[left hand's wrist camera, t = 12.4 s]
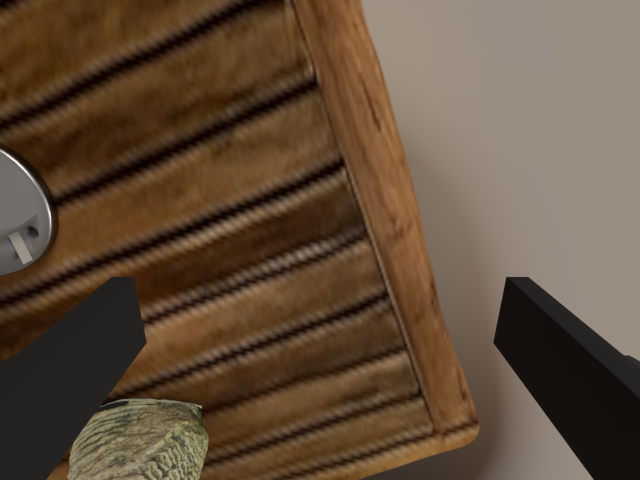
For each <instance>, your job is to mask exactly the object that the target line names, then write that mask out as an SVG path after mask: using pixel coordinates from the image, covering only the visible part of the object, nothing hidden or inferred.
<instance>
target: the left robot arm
mask: <svg viewBox="0 0 640 480" xmlns="http://www.w3.org/2000/svg"><path fill="white" fill-rule="evenodd" d="M57 229H58V215H57V209H56V205H55V202H54V199H53V196H52V194H51V192H50V190H49V188H48V186H47V185H46V183H45V181H44V180H43V179H42V177H41V176H40V175H39V173H38V172H37V171H36V170H35V169H34V168H33V166H32V165H31V164H30V163H28V162H27V161H26V160H25V159H24V158H23V157H21V156H20V155H19V154H18V153H16V152H15V151H13V150H12V149H10V148H8V147H6V146H5V145H3V144H1V143H0V275H4V274H9V273H12V272H15V271H18V270H21V269H23V268H25V267H27V266H29V265H31V264H33V263H35V262H36V261H38V260H39V259H41V258H42V257H43V256H44V255H45V254H46V253H47V252H48V251H49V250H50V248H51V246H52V245H53V243H54V240H55V238H56V234H57ZM146 343H147V342H146V337H145V332H144V327H143V322H142V317H141V312H140V307H139V302H138V297H137V292H136V287H135V282H134V277H111V278H110V279H109V280H108V281H106V282H105V283H104V284H103V285H101V286H100V287H99V288H98V289H97V290H95V291H94V292H93V293H92V294H90V295H89V296H88V297H87V298H86V299H84V300H83V301H82V302H81V303H80V304H78V305H77V306H76V307H75V308H73V309H72V310H71V311H70V312H69V313H67V314H66V315H65V316H64V317H62V318H61V319H60V320H59V321H58V322H56V323H55V324H54V325H53V326H51V327H50V328H49V329H48V330H47V331H45V332H44V333H43V334H42V335H41V336H39V337H38V338H37V339H36V340H34V341H33V342H32V343H31V344H30V345H28V346H27V347H26V348H25V349H23V350H22V351H21V352H20V353H19V354H17V355H16V356H15V357H10V358H8V359H6V360H4V361H3V362H1V363H0V480H46V479H47V478H48V477H49V475H50V474H51V472H52V471H53V470H54V468H55V467H56V466H57V464H58V463H59V462H60V460H61V459H62V457H63V456H64V455H65V453H66V452H67V451H68V449H69V448H70V447H71V445H72V444H73V442H74V441H75V440H76V438H77V437H78V436H79V434H80V433H81V432H82V430H83V429H84V427H85V426H86V425H87V423H88V422H89V421H90V419H91V418H92V417H93V415H94V414H95V412H96V411H97V410H98V408H99V407H100V406H101V404H102V403H103V402H104V400H105V399H106V397H107V396H108V395H109V393H110V392H111V391H112V389H113V388H114V387H115V385H116V384H117V382H118V381H119V380H120V378H121V377H122V376H123V374H124V373H125V372H126V370H127V369H128V367H129V366H130V365H131V363H132V362H133V361H134V359H135V358H136V357H137V355H138V354H139V352H140V351H141V350H142V348H143V347H144V346H145V344H146ZM493 343H494V344H495V346H496V347H497V348H498V350H499V351H500V352H501V354H502V355H503V357H504V358H505V359H506V361H507V362H508V363H509V365H510V366H511V367H512V369H513V370H514V372H515V373H516V374H517V376H518V377H519V378H520V380H521V381H522V382H523V384H524V385H525V387H526V388H527V389H528V391H529V392H530V393H531V395H532V396H533V397H534V399H535V400H536V402H537V403H538V404H539V406H540V407H541V408H542V410H543V411H544V412H545V414H546V415H547V417H548V418H549V419H550V421H551V422H552V423H553V425H554V426H555V427H556V429H557V430H558V432H559V433H560V434H561V436H562V437H563V438H564V440H565V441H566V442H567V444H568V445H569V447H570V448H571V449H572V451H573V452H574V453H575V455H576V456H577V457H578V459H579V460H580V462H581V463H582V464H583V466H584V467H585V468H586V470H587V471H588V472H589V474H590V475H591V476H592V478H593V479H594V480H640V361H638V360H636V359H635V358H633V357H631V356H624V355H623V354H621V353H620V352H619V351H618V350H617V349H615V348H614V347H613V346H612V345H610V344H609V343H608V342H607V341H606V340H604V339H603V338H602V337H601V336H599V335H598V334H597V333H596V332H595V331H593V330H592V329H591V328H590V327H589V326H587V325H586V324H585V323H584V322H582V321H581V320H580V319H579V318H578V317H576V316H575V315H574V314H573V313H571V312H570V311H569V310H568V309H567V308H565V307H564V306H563V305H562V304H560V303H559V302H558V301H557V300H556V299H554V298H553V297H552V296H551V295H550V294H548V293H547V292H546V291H545V290H543V289H542V288H541V287H540V286H539V285H537V284H536V283H535V282H534V281H532V280H531V279H530V278H529V277H506V282H505V287H504V292H503V297H502V302H501V307H500V312H499V317H498V322H497V327H496V332H495V337H494V342H493Z"/></svg>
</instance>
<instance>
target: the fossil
mask: <svg viewBox="0 0 640 480" xmlns="http://www.w3.org/2000/svg"><path fill="white" fill-rule="evenodd" d="M201 408H202V406H199V405H197V404H193V403H185V402H180V401H172V400H164V399H163V400H155V399H123V400H118V401H115V402H112V403H108V404H106V405H104V406H100V407H99V408H98V410H97V411H96V412H95V414H94V415H93V417H92V418H91V419H90V421H89V422H88V423H87V425H86V426H85V427H84V429H83V430H82V432H81V433H80V434H79V436H78V437H77V438H76V440H75V441H74V443H73V448H72V451H71V453H70V454H71V456H70V459H69V462H70V469H69V474H68V476H67V478H68V479H69V480H198V479H199V475H200V473H201V470H202V467H203V464H204V460H205V456H206V453H207V448H208V442H209V436H208V432H207V430H206V429H205V427H204V426H203V424H202V422H201V421H200V420H201V416H202V415H201Z"/></svg>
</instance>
